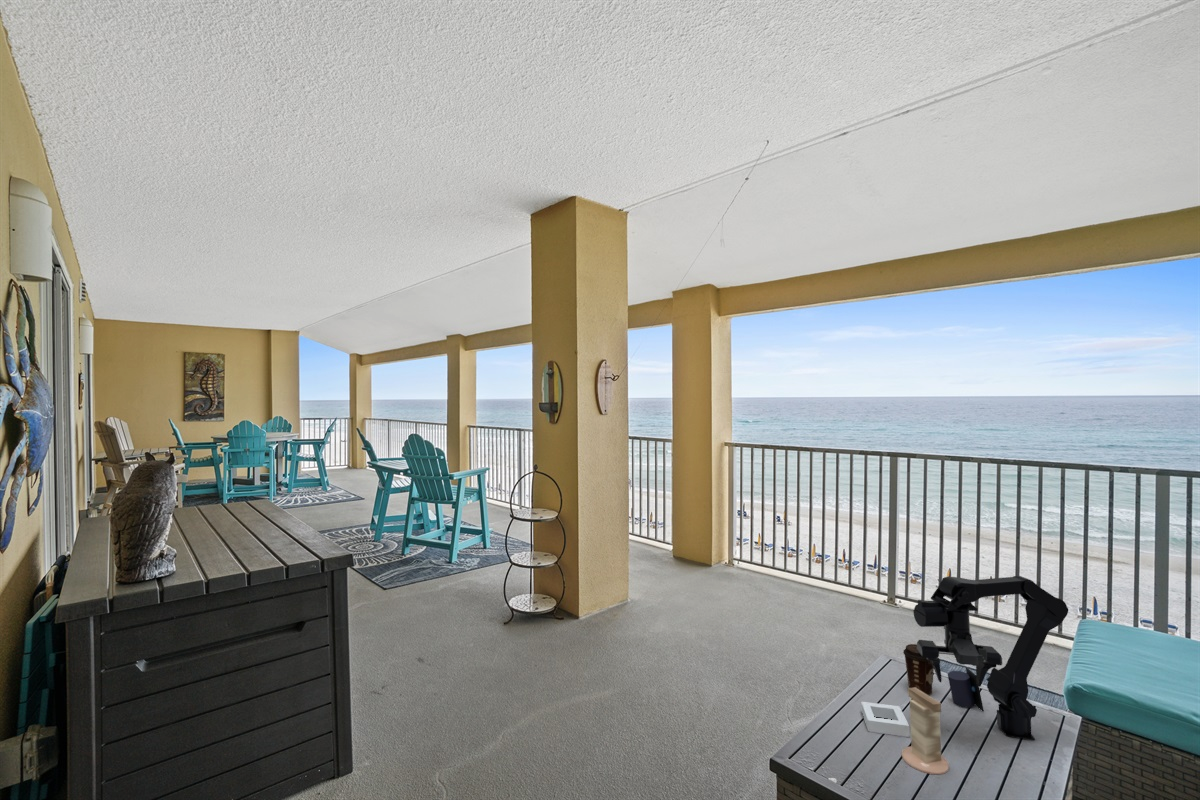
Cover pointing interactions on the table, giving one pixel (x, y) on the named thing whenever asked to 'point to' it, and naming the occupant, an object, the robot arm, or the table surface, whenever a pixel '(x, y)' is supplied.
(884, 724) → the socket
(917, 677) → the coffee cup
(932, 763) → the peach flat disc
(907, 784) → the table surface
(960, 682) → the speaker
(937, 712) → the wooden block tower
